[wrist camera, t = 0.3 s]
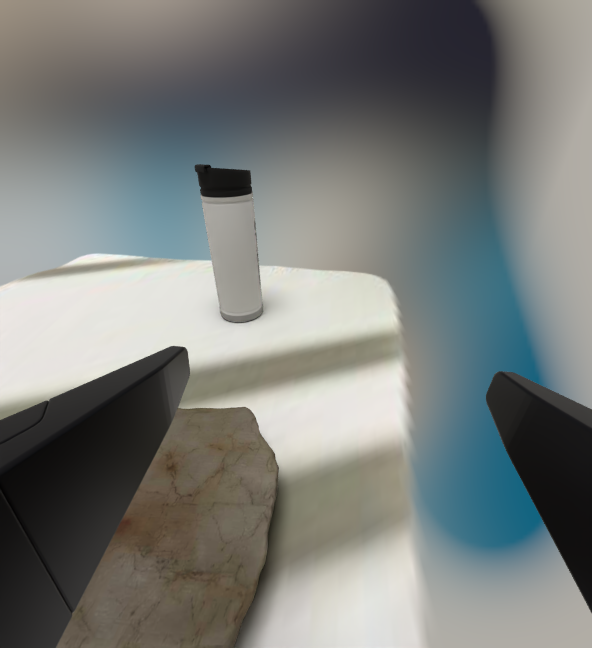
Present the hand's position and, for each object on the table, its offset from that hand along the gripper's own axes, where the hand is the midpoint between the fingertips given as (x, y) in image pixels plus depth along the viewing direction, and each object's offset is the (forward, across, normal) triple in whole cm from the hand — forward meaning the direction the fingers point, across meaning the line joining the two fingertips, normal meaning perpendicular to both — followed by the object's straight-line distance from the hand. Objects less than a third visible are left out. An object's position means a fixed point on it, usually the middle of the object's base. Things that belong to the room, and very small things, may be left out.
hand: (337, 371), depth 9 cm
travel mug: (+34, +11, +14) cm, 38 cm away
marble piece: (+5, +10, +17) cm, 21 cm away
